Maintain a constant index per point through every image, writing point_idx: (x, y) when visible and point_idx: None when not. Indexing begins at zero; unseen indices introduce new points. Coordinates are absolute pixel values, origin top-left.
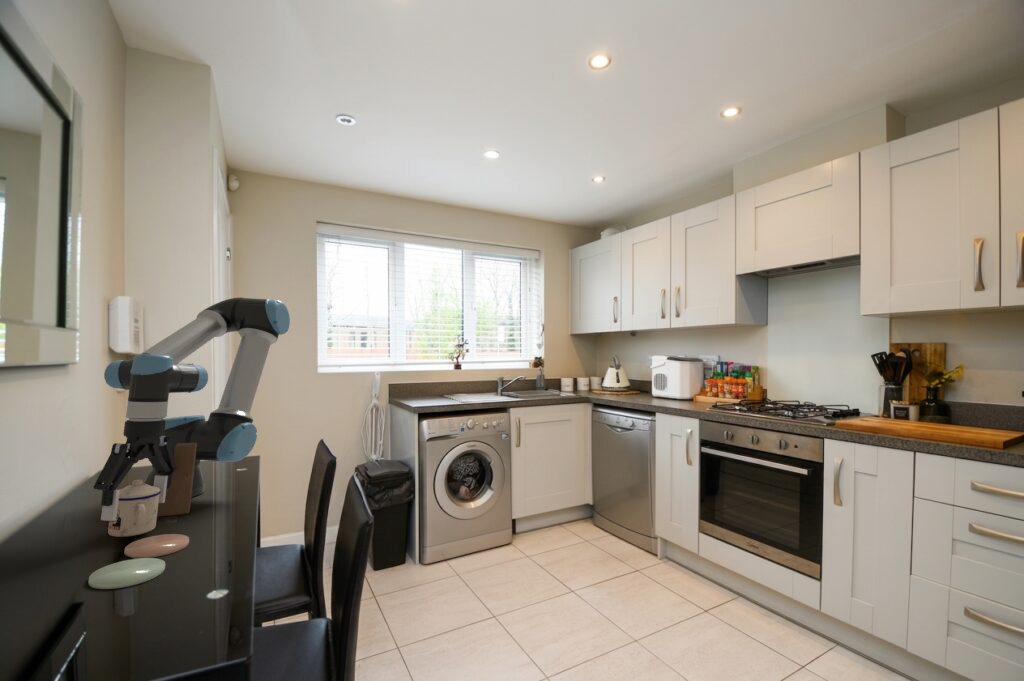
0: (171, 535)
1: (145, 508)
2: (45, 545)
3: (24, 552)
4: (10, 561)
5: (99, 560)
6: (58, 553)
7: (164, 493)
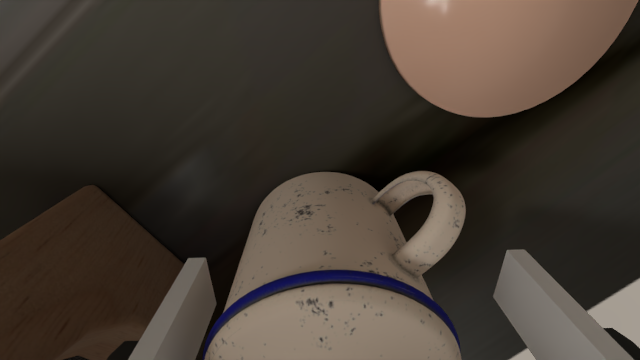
0: (403, 6)
1: (372, 236)
2: (462, 335)
3: (509, 337)
4: None
5: (615, 116)
6: None
7: (174, 299)
